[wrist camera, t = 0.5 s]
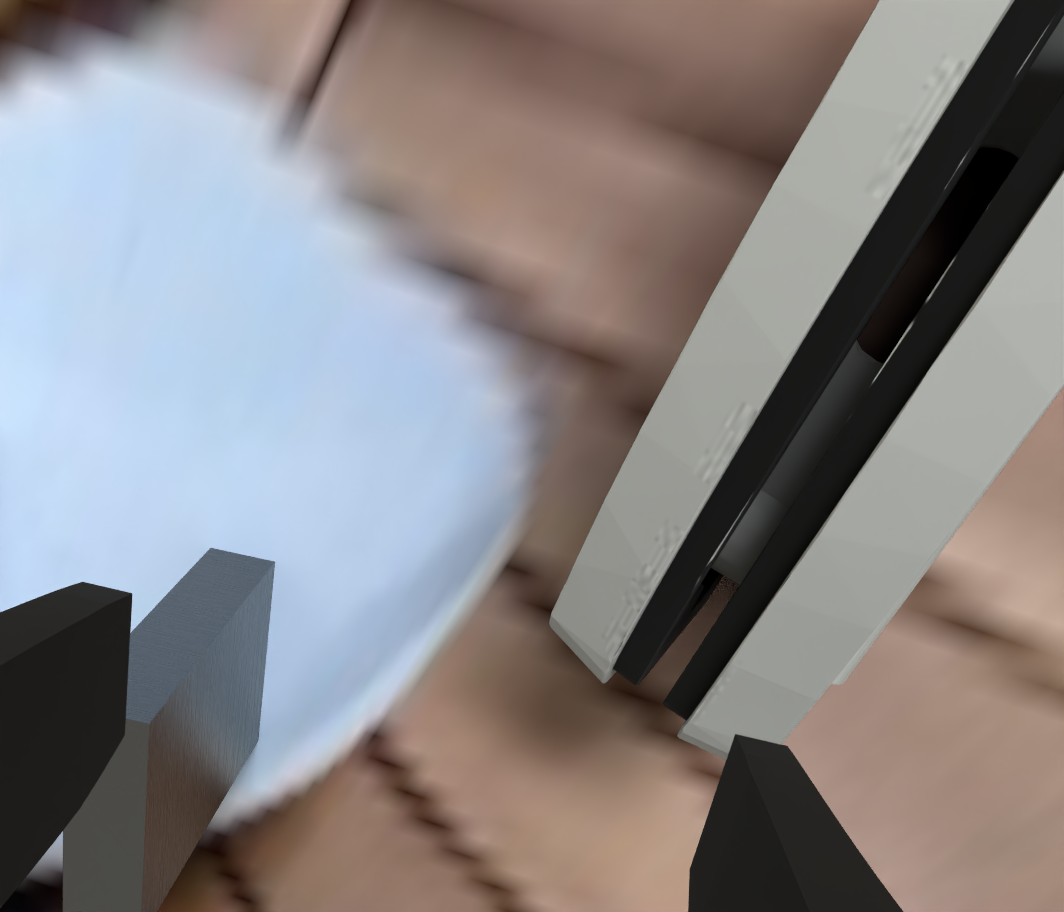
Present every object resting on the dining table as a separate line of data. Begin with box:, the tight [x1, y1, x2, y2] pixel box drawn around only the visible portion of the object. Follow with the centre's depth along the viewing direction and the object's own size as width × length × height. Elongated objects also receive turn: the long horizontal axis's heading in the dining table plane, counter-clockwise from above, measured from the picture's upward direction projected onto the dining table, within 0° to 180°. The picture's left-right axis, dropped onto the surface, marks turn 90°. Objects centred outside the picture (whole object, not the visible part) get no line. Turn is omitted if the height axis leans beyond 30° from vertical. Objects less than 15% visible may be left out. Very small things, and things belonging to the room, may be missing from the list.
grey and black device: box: [549, 0, 1064, 760], centre depth 14 cm, size 17×5×10 cm, turn 154°
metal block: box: [63, 548, 275, 912], centre depth 20 cm, size 5×2×6 cm, turn 170°
